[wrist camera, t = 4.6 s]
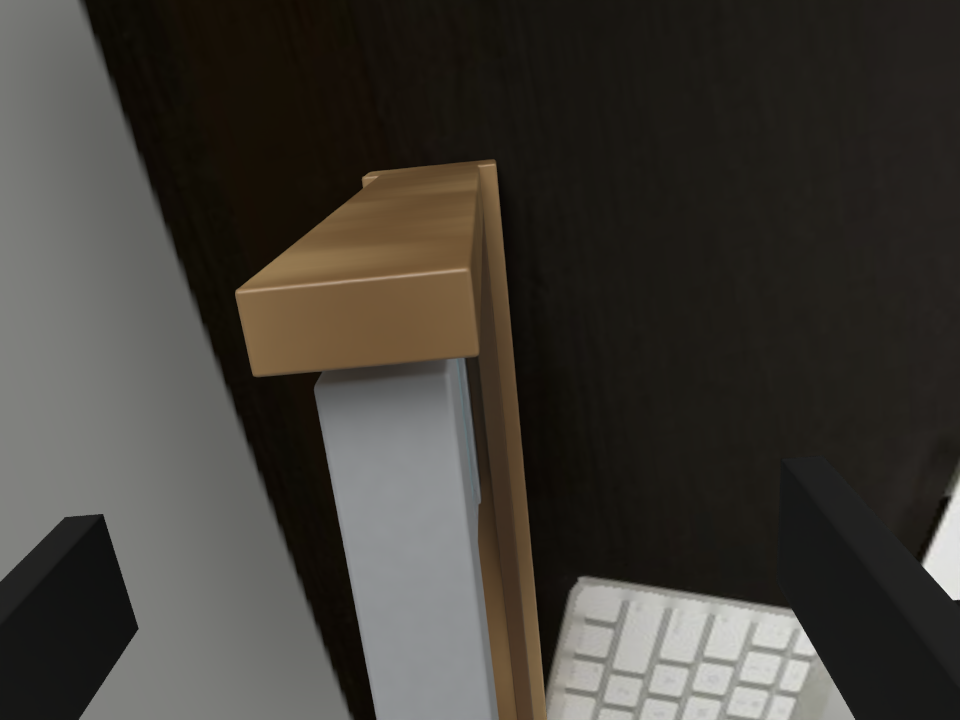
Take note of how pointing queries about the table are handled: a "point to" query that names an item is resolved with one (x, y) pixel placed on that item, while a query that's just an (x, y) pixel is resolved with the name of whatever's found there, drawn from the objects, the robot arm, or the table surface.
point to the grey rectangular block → (412, 534)
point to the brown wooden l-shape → (421, 354)
